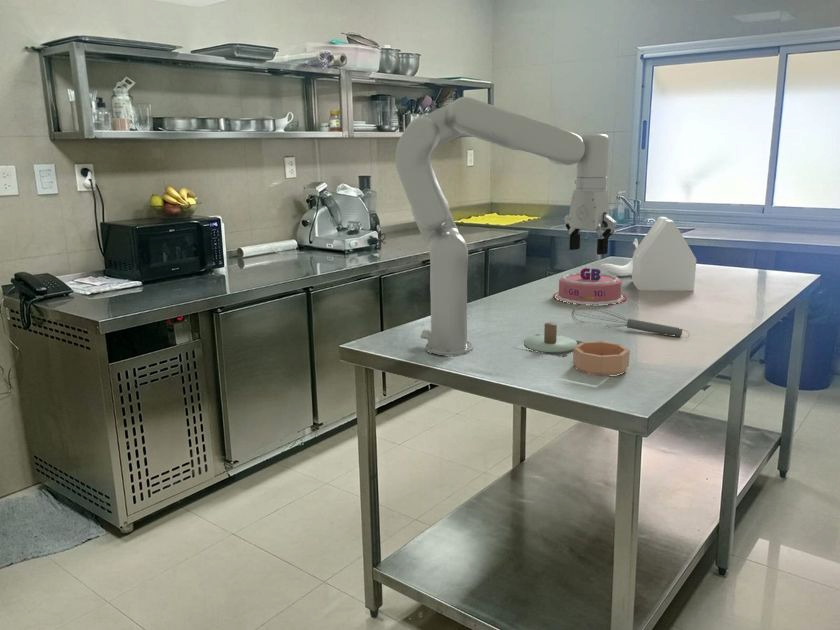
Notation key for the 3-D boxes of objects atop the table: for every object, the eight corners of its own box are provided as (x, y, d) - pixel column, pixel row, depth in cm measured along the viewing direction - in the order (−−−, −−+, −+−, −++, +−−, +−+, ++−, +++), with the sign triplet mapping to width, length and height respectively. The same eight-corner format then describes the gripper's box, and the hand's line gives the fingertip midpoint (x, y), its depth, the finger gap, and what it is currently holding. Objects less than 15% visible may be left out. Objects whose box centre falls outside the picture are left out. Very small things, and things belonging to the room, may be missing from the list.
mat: (511, 348, 177) (511, 347, 177) (537, 335, 188) (537, 334, 188) (564, 358, 168) (564, 357, 168) (587, 343, 180) (587, 342, 180)
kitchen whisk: (686, 341, 181) (688, 319, 179) (567, 326, 199) (568, 305, 197) (691, 336, 186) (693, 314, 184) (575, 321, 204) (575, 301, 202)
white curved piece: (599, 277, 267) (601, 240, 264) (637, 272, 274) (639, 237, 271) (607, 279, 263) (608, 242, 259) (645, 274, 270) (647, 238, 266)
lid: (514, 347, 177) (514, 326, 175) (538, 335, 188) (538, 315, 186) (563, 356, 169) (563, 334, 167) (585, 342, 179) (586, 321, 178)
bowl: (566, 371, 159) (567, 351, 158) (586, 357, 168) (587, 338, 167) (615, 380, 152) (616, 359, 151) (633, 366, 161) (634, 346, 160)
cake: (544, 303, 228) (545, 272, 225) (562, 288, 249) (563, 260, 247) (619, 309, 217) (621, 277, 214) (632, 293, 239) (633, 264, 236)
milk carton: (683, 282, 255) (688, 216, 249) (693, 290, 240) (699, 221, 234) (631, 281, 258) (635, 216, 252) (638, 290, 243) (642, 221, 237)
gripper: (556, 183, 174) (554, 249, 178) (606, 186, 159) (602, 257, 164) (577, 182, 178) (574, 246, 182) (628, 185, 163) (623, 254, 167)
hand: (587, 251), depth 173 cm, fingers open, 9 cm apart
